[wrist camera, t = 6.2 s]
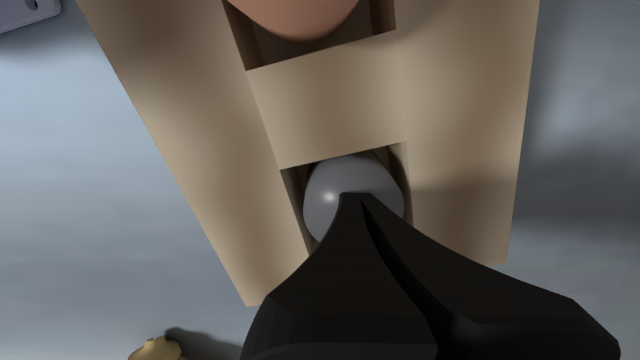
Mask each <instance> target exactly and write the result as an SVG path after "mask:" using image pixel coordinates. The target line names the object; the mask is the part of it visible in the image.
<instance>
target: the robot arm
mask: <svg viewBox="0 0 640 360" xmlns="http://www.w3.org/2000/svg"><path fill="white" fill-rule="evenodd" d="M35 1H36V2H37V5H38V9H37V8H36V6H35V4H34V3H35ZM60 11H61V4H60V2H59V0H0V34H1V33H4V32H7V31H10V30H13V29H16V28H19V27H22V26H25V25H28V24H31V23H34V22H37V21H40V20H43V19H46V18H49V17H52V16H55V15H57V14H59V13H60ZM620 356H621V350H620V347H619V343H618V340H617V339H615V338H614V337H613V336H612V335H611V334H610V333H609V332H608V331H607V330H606V329H605V328H604V327H602V326H601V325H600V324H599V323H598V322H597V321H596V320H595V319H594V318H593V317H592V316H591V315H590V314H588V313H587V312H586V311H585V310H584V309H583V308H582V307H581V306H580V305H579V304H578V303H577V302H575V301H574V300H573V299H571V298H568V297H565V296H562V295H560V294H557V293H554V292H551V291H548V290H546V289H543V288H540V287H537V286H534V285H531V284H529V283H526V282H523V281H520V280H518V279H515V278H513V277H510V276H508V275H505V274H503V273H500V272H498V271H496V270H493V269H491V268H488V267H486V266H484V265H482V264H479V263H477V262H475V261H473V260H471V259H469V258H467V257H465V256H463V255H461V254H459V253H457V252H455V251H453V250H451V249H449V248H447V247H445V246H443V245H442V244H440V243H438V242H436V241H435V240H433V239H431V238H430V237H428V236H426V235H425V234H423V233H422V232H420V231H419V230H417V229H416V228H414V227H413V226H411V225H410V224H409V223H407V222H406V221H404V220H403V219H402V218H400V217H399V216H398V215H397V214H395V213H394V212H393V211H392V210H390V209H389V208H388V207H387V206H386V205H384V204H383V203H382V202H381V201H380V200H378V199H377V198H376V197H375V196H374V195H372V194H371V193H346V192H342V193H341V194H339V205H338V208H337V211H336V214H335V217H334V219H333V221H332V223H331V225H330V227H329V229H328V230H327V232H326V234H325V235H324V237H323V238H322V240H321V241H320V243H319V244H318V245H317V247H316V248H315V249H314V251H313V252H312V253H311V254H310V256H309V257H308V258H307V259H306V260H305V261H304V262H303V263H302V264H301V265H300V266H299V267H298V268H297V269H296V270H295V271H294V272H293V273H292V274H291V275H290V276H289V277H288V278H287V279H285V280H284V281H283V282H282V283H281V284H279V285H278V286H277V287H276V288H275V289H273V290H272V291H271V292H270V293H269V294H267V295H266V297H265V298H264V300H263V302H262V304H261V306H260V308H259V310H258V312H257V314H256V316H255V318H254V320H253V322H252V325H251V327H250V330H249V332H248V334H247V337H246V340H245V342H244V345H243V349H242V352H241V356H240V360H620Z"/></svg>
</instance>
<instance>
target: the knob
mask: <svg viewBox="0 0 640 360" xmlns="http://www.w3.org/2000/svg"><path fill="white" fill-rule="evenodd" d="M342 192H346V193H371V194H372V195H374V196H375V197H376V198H377V199H378V200H380V201H381V202H382V203H383V204H384V205H386V206H387V207H388V208H389V209H390V210H392V211H393V212H394V213H395V214H397V215H398V216H399V217H400V218H403V214H404V199H403V195H402V192H401V190H400V188H399V187H398V185H397V184H396V182H395V181H394V179H393V178H392V176H391V175H390V173H389V172H388V170H387V169H386V167H385V166H384V164H383V163H382V161H381V160H380V158H379V157H378V156H377V154H376V153H375V152H374V151H373V150H371V149H368V150H364V151H360V152H355V153H351V154H347V155H342V156H338V157H333V158H329V159H325V160H320V161H316V162H312V163H311V164H310V166H309V169H308V173H307V181H306V190H305V198H304V206H303V216H304V221H305V224H306V227H307V229H308V230H309V232H310V233H311V235H312V236H313V237H314V238H315V239H316V240H317V241H319V242H320V241H321V240H322V238H323V237H324V235H325V234H326V232H327V230H328V229H329V227H330V225H331V223H332V221H333V219H334V217H335V214H336V211H337V208H338V205H339V194H341V193H342Z"/></svg>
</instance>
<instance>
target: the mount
mask: <svg viewBox="0 0 640 360" xmlns="http://www.w3.org/2000/svg"><path fill="white" fill-rule="evenodd" d="M75 1H76V3H77V5H78V7H79V8H80V10H81V12H82V14H83V16H84V17H85V19H86V21H87V23H88V25H89V26H90V28H91V30H92V32H93V33H94V35H95V37H96V39H97V41H98V42H99V44H100V46H101V48H102V50H103V51H104V53H105V55H106V57H107V58H108V60H109V62H110V64H111V66H112V67H113V69H114V71H115V73H116V75H117V76H118V78H119V80H120V82H121V83H122V85H123V87H124V89H125V91H126V92H127V94H128V96H129V98H130V100H131V101H132V103H133V105H134V107H135V108H136V110H137V112H138V114H139V116H140V117H141V119H142V121H143V123H144V125H145V126H146V128H147V130H148V132H149V133H150V135H151V137H152V139H153V141H154V142H155V144H156V146H157V148H158V150H159V151H160V153H161V155H162V157H163V159H164V160H165V162H166V164H167V166H168V167H169V169H170V171H171V173H172V175H173V176H174V178H175V180H176V182H177V184H178V185H179V187H180V189H181V191H182V192H183V194H184V196H185V198H186V200H187V201H188V203H189V205H190V207H191V209H192V210H193V212H194V214H195V216H196V217H197V219H198V221H199V223H200V225H201V226H202V228H203V230H204V232H205V234H206V235H207V237H208V239H209V241H210V242H211V244H212V246H213V248H214V250H215V251H216V253H217V255H218V257H219V259H220V260H221V262H222V264H223V266H224V267H225V269H226V271H227V273H228V275H229V276H230V278H231V280H232V282H233V284H234V285H235V287H236V289H237V291H238V292H239V294H240V296H241V298H242V300H243V301H244V303H245V305H246V307H250V306H256V305H261V304H262V302H263V300H264V298H265V297H266V295H267V294H269V293H270V292H271V291H272V290H273V289H275V288H276V287H277V286H278V285H279V284H281V283H282V282H283V281H284V280H285V279H287V278H288V277H289V276H290V275H291V274H292V273H293V272H294V271H295V270H296V269H297V268H298V267H299V266H300V265H301V264H302V263H303V262H304V261H305V260H306V259H307V258H308V257H309V256H310V254H311V253H312V252H313V251H314V249H315V248H316V247H317V245H318V244H319V243H320V242H319V241H317V240H316V239H315V238H314V237H313V236H312V235H311V233H310V232H309V230H308V229H307V227H306V224H305V221H304V216H303V206H304V198H305V190H306V181H307V173H308V169H309V166H310V164H311V163H312V162H316V161H320V160H325V159H329V158H333V157H338V156H342V155H347V154H351V153H355V152H360V151H364V150H368V149H371V150H373V151H374V152H375V153H376V154H377V156H378V157H379V158H380V160H381V161H382V163H383V164H384V166H385V167H386V169H387V170H388V172H389V173H390V175H391V176H392V178H393V179H394V181H395V182H396V184H397V185H398V187H399V188H400V190H401V192H402V195H403V199H404V214H403V218H402V219H403V220H404V221H406V222H407V223H409V224H410V225H411V226H413V227H414V228H416V229H417V230H419V231H420V232H422V233H423V234H425V235H426V236H428V237H430V238H431V239H433V240H435V241H436V242H438V243H440V244H442V245H443V246H445V247H447V248H449V249H451V250H453V251H455V252H457V253H459V254H461V255H463V256H465V257H467V258H469V259H471V260H473V261H475V262H477V263H479V264H482V265H484V266H492V265H498V264H504V263H506V262H507V255H508V247H509V239H510V231H511V223H512V216H513V208H514V200H515V192H516V184H517V176H518V169H519V161H520V153H521V145H522V137H523V130H524V122H525V114H526V106H527V98H528V90H529V83H530V75H531V67H532V59H533V51H534V44H535V36H536V28H537V20H538V12H539V5H540V0H359V2H358V3H357V5H356V7H355V9H354V10H353V12H352V13H351V15H350V16H349V18H348V19H347V20H346V21H345V23H344V24H343V25H342V26H341V27H340V28H339V29H337V30H336V31H335V32H333V33H332V34H331V35H329V36H327V37H325V38H323V39H320V40H318V41H314V42H309V43H296V42H290V41H286V40H283V39H281V38H278V37H276V36H275V35H273V34H271V33H270V32H268V31H267V30H266V29H264V28H263V27H262V26H260V25H259V24H258V23H256V22H255V21H254V20H252V19H251V18H250V17H248V16H247V15H246V14H244V13H243V12H242V11H240V10H239V9H238V8H236V7H235V6H234V5H232V4H231V3H230V2H229V1H228V0H75Z"/></svg>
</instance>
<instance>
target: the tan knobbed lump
mask: <svg viewBox="0 0 640 360" xmlns="http://www.w3.org/2000/svg"><path fill="white" fill-rule="evenodd" d="M180 354H181V349H180V348H179V344H178V343H177V342H176V341H172V340H170V341H166V339H165V336H160V337H158V338H156V339H155V340H153V338H151V339H148V340H147V341H146V343H145V345H144V346H143V347H140V348H139V349H137V350H135V351H134V352H133V353H132V354H131V355H130V356H129V357H128V360H189V359H186V358H184V357H181V356H180Z"/></svg>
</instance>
